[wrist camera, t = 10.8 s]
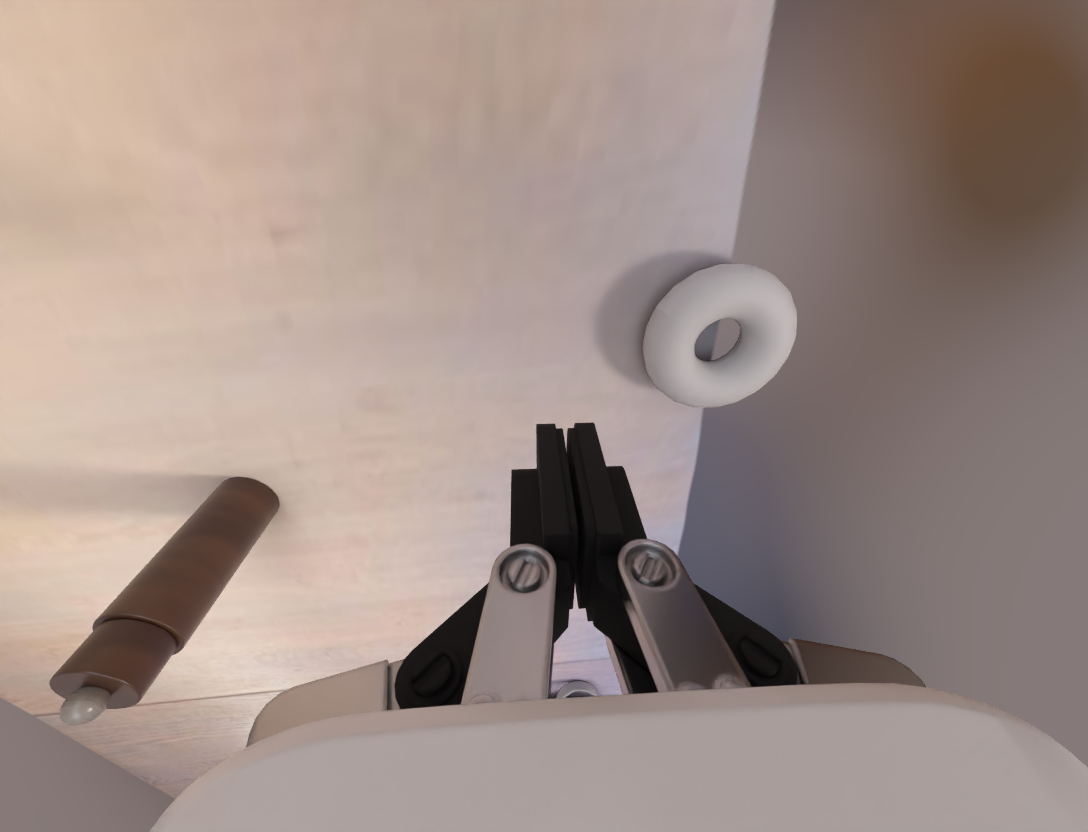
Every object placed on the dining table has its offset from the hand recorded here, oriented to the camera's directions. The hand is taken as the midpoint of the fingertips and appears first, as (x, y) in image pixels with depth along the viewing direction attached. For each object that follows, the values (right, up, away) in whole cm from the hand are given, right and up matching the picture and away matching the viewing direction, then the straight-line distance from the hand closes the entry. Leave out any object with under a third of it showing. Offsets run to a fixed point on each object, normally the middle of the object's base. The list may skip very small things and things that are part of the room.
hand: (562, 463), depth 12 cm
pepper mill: (-26, -6, +23) cm, 35 cm away
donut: (+11, +7, +17) cm, 21 cm away
